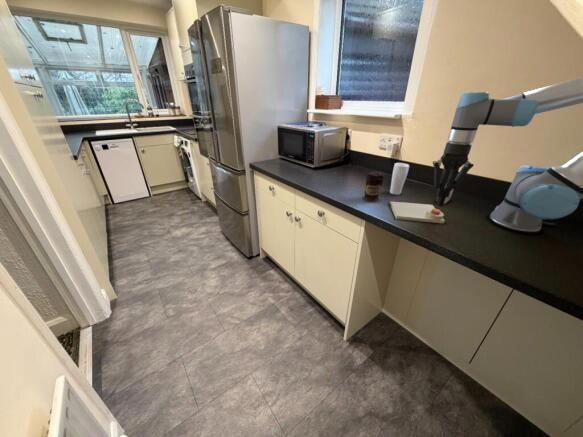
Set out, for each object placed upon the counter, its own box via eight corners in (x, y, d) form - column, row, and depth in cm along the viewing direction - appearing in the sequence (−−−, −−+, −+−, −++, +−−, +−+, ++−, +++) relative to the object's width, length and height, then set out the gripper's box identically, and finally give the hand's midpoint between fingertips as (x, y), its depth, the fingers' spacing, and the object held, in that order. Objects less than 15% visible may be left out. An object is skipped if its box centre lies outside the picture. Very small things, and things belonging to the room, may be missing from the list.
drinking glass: (402, 196, 116) (410, 167, 109) (388, 194, 118) (394, 165, 111) (401, 191, 122) (408, 163, 114) (387, 190, 123) (394, 162, 116)
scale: (431, 207, 105) (433, 201, 104) (443, 223, 92) (446, 216, 91) (389, 204, 108) (391, 198, 107) (396, 219, 95) (397, 212, 94)
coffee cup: (381, 204, 108) (387, 177, 102) (362, 202, 109) (367, 175, 103) (378, 196, 115) (384, 171, 109) (361, 195, 117) (365, 170, 111)
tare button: (437, 212, 95) (439, 208, 94) (440, 215, 92) (441, 212, 92) (429, 211, 95) (431, 208, 95) (432, 214, 93) (433, 211, 92)
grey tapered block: (436, 201, 111) (442, 181, 106) (441, 197, 115) (448, 178, 110) (444, 203, 109) (451, 183, 104) (449, 200, 113) (456, 180, 108)
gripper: (475, 141, 83) (453, 201, 94) (435, 140, 85) (419, 199, 96) (486, 145, 76) (462, 209, 87) (442, 143, 79) (424, 207, 89)
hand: (439, 204), depth 92 cm, fingers closed
